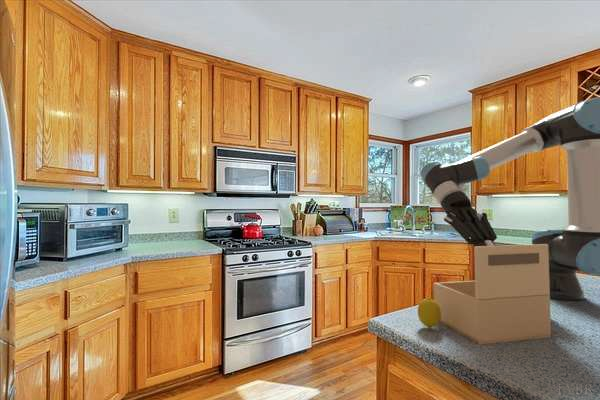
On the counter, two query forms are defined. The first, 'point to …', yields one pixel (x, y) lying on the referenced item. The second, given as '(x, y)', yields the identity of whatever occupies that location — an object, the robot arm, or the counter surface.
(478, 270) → the carton flap
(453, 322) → the carton
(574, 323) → the counter surface
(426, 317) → the lemon
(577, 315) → the counter surface
